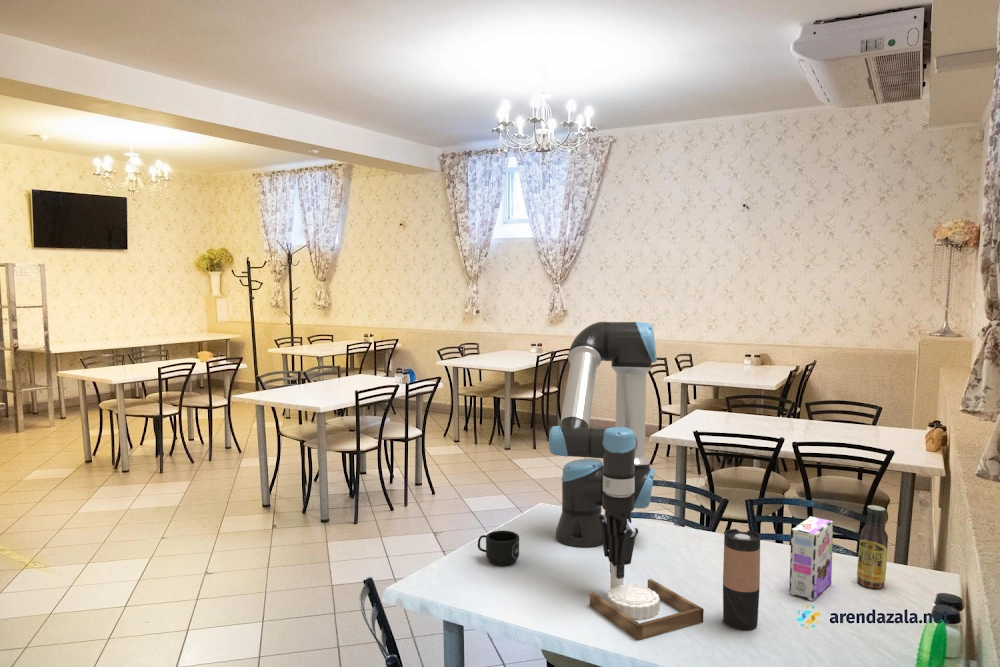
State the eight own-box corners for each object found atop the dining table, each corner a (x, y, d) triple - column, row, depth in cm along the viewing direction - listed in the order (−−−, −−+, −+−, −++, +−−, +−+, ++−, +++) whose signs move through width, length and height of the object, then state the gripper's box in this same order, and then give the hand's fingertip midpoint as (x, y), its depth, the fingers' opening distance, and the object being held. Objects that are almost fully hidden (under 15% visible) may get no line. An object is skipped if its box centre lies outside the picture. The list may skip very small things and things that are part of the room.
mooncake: (658, 623, 152) (659, 607, 152) (604, 616, 155) (604, 601, 155) (660, 600, 164) (660, 585, 164) (609, 594, 167) (610, 579, 167)
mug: (524, 558, 189) (524, 533, 189) (511, 570, 181) (511, 543, 180) (484, 551, 194) (485, 526, 194) (470, 562, 186) (470, 537, 185)
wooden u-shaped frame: (589, 605, 160) (589, 593, 160) (650, 590, 168) (650, 578, 168) (638, 640, 144) (638, 626, 144) (703, 622, 152) (703, 608, 152)
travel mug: (739, 634, 147) (741, 542, 146) (714, 618, 154) (716, 531, 153) (766, 627, 150) (768, 537, 149) (741, 612, 157) (743, 526, 156)
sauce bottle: (853, 584, 172) (856, 507, 171) (860, 577, 177) (863, 501, 176) (882, 592, 168) (885, 512, 167) (889, 584, 172) (892, 507, 171)
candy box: (813, 602, 163) (815, 534, 162) (788, 594, 167) (790, 528, 166) (832, 584, 173) (834, 520, 172) (807, 577, 177) (809, 514, 176)
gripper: (589, 488, 168) (588, 582, 170) (621, 502, 157) (620, 603, 158) (614, 484, 172) (613, 576, 173) (648, 498, 160) (646, 597, 161)
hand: (616, 589), depth 165 cm, fingers closed
